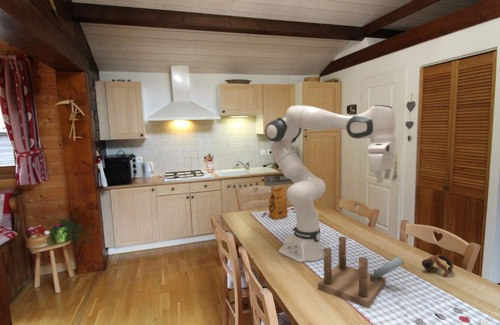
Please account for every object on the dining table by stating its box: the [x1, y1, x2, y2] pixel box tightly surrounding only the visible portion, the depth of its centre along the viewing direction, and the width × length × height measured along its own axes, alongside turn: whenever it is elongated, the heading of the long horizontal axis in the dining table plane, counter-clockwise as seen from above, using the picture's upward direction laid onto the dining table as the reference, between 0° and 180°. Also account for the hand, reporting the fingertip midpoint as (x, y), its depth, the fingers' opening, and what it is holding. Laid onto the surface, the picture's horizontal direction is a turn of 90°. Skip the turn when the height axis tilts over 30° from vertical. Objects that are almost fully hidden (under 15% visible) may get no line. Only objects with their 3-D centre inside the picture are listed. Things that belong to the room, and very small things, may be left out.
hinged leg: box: [373, 256, 404, 278], centre depth 110 cm, size 3×3×12 cm
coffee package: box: [268, 186, 288, 221], centre depth 202 cm, size 10×12×22 cm
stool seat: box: [317, 236, 387, 309], centre depth 112 cm, size 20×20×16 cm
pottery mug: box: [421, 254, 454, 278], centre depth 120 cm, size 12×10×8 cm
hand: (383, 180), depth 112 cm, fingers open, 8 cm apart
